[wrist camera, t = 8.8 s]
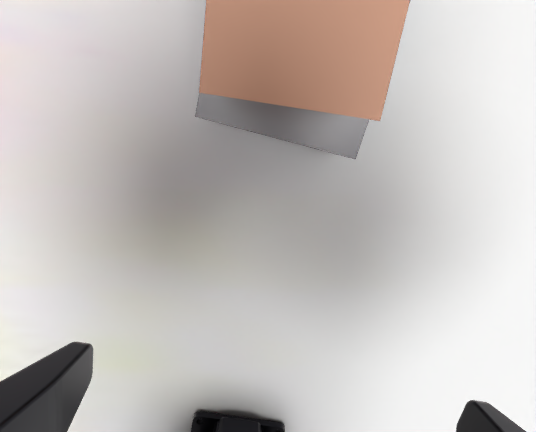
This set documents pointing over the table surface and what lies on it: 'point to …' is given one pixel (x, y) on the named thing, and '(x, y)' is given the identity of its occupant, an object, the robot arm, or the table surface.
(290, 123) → the gray box
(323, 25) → the terracotta block
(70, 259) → the table surface
